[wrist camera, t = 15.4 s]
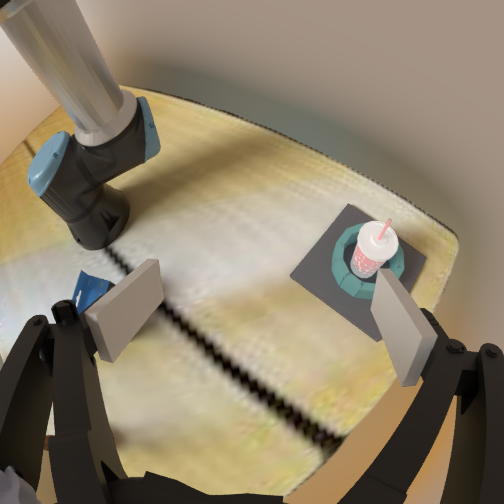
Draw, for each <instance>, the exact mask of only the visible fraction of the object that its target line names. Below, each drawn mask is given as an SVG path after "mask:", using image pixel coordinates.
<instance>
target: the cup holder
mask: <svg viewBox="0 0 504 504" xmlns="http://www.w3.org/2000/svg"><path fill="white" fill-rule="evenodd" d="M370 221H375V220H373V219H372V218H370V217H369V216H367V215H366V214H364V213H363V212H361V211H360V210H358V209H356V208H355V207H353V206H352V205H350V204H349V203H348V204H347V206H346V207H345V208H344V209H343V211H342V212H341V213H340V214H339V216H338V217H337V218H336V219H335V221H334V222H333V223H332V224H331V226H330V227H329V228H328V229H327V231H326V232H325V233H324V234H323V236H322V237H321V238H320V239H319V240H318V242H317V243H316V244H315V245H314V247H313V248H312V249H311V250H310V251H309V253H308V254H307V255H306V256H305V257H304V259H303V260H302V261H301V262H300V263H299V265H298V266H297V267H296V268H295V269H294V271H293V272H292V273H291V274H290V277H291V278H292V279H293V280H295V281H296V282H298V283H299V284H300V285H302V286H303V287H304V288H306V289H307V290H308V291H310V292H311V293H312V294H314V295H315V296H316V297H318V298H319V299H320V300H322V301H323V302H324V303H326V304H327V305H328V306H330V307H331V308H332V309H334V310H335V311H336V312H338V313H339V314H340V315H342V316H343V317H344V318H346V319H347V320H348V321H350V322H351V323H352V324H354V325H355V326H356V327H358V328H359V329H360V330H362V331H363V332H364V333H366V334H367V335H368V336H370V337H371V338H372V339H374V340H375V341H376V342H378V341H379V340H380V339H381V337H382V335H381V333H380V331H379V328H378V326H377V323H376V321H375V319H374V317H373V314H372V312H371V310H370V309H371V305H372V300H373V295H374V290H375V285H376V279H377V273H378V270H377V271H376V272H375V273H374V274H373V275H372V276H370V277H368V278H361V277H358V276H357V275H355V274H354V273H353V271H352V269H351V260H352V257H353V254H354V251H355V248H356V245H357V243H358V239H357V238H358V234H359V231H360V229H361V227H362V226H363V225H364V224H365V223H368V222H370ZM397 238H398V243H399V244H398V249H397V252H396V253H395V254H394V255H393V256H392V257H391V259H389V260H386V262H385V263H384V264H383V265H382V266H381V267H380V268H382V269H391V271H392V272H393V273H394V274H395V276H396V277H397V278H398V280H399V281H400V282H401V284H402V285H403V286H404V288H405V289H406V290H407V292H409V291H410V289H411V287H412V285H413V283H414V281H415V279H416V277H417V275H418V273H419V271H420V269H421V267H422V265H423V263H424V261H425V259H426V257H425V256H424V255H423V254H421V253H420V252H419V251H417V250H416V249H415V248H413V247H412V246H411V245H409V244H408V243H406V242H405V241H404V240H402V239H401V238H399V237H398V236H397Z"/></svg>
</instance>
